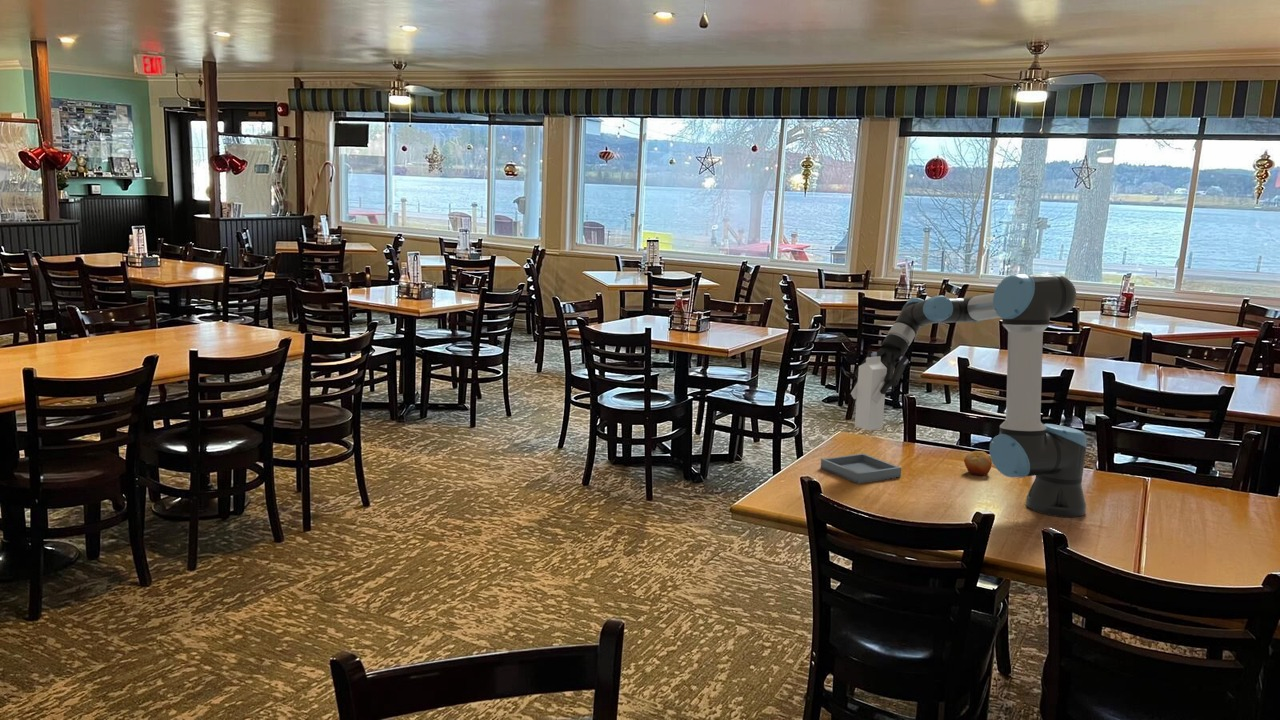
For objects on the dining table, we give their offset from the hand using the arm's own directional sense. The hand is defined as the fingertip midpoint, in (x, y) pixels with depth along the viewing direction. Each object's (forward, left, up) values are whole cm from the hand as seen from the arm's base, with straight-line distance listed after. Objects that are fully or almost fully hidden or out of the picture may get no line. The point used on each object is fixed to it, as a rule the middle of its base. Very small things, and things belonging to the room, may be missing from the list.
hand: (863, 398), depth 283 cm
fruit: (-15, -35, -24) cm, 45 cm away
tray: (0, -1, -23) cm, 23 cm away
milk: (+1, -3, -10) cm, 10 cm away
